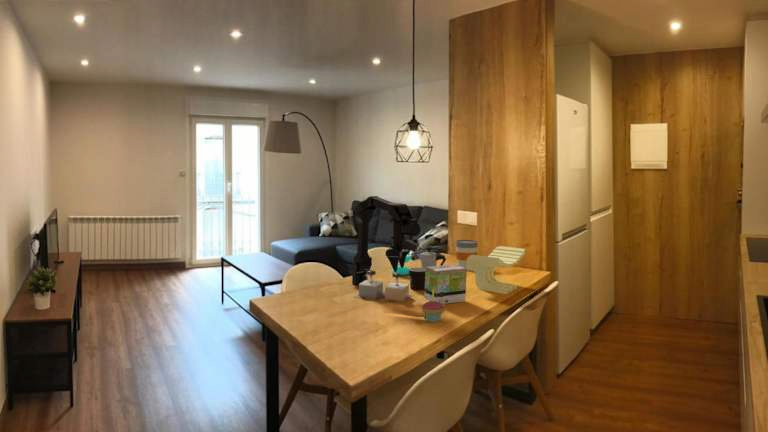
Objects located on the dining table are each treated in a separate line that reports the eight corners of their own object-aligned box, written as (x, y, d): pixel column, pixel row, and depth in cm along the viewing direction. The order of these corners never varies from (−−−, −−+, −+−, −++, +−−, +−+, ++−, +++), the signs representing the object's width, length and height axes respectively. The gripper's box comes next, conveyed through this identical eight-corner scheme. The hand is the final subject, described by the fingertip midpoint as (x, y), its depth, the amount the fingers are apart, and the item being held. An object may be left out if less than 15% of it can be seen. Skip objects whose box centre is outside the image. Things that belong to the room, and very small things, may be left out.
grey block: (359, 296, 210) (359, 283, 209) (367, 291, 219) (367, 279, 218) (376, 298, 207) (376, 285, 207) (384, 292, 216) (384, 280, 215)
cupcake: (420, 316, 186) (420, 286, 185) (442, 316, 187) (442, 285, 185) (424, 323, 177) (424, 291, 176) (446, 323, 178) (447, 291, 177)
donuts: (414, 254, 259) (404, 257, 251) (414, 273, 260) (404, 276, 252) (398, 252, 265) (388, 255, 257) (398, 270, 266) (388, 274, 258)
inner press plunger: (361, 287, 210) (361, 272, 209) (367, 283, 216) (367, 269, 215) (375, 288, 208) (375, 273, 207) (380, 285, 214) (380, 270, 213)
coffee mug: (425, 293, 219) (426, 271, 218) (406, 292, 221) (407, 271, 220) (428, 287, 230) (428, 266, 229) (410, 286, 232) (410, 265, 231)
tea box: (436, 306, 200) (437, 271, 198) (423, 300, 209) (424, 266, 207) (466, 301, 207) (467, 267, 205) (452, 295, 216) (453, 263, 214)
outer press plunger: (387, 289, 206) (387, 274, 205) (392, 286, 212) (392, 271, 211) (401, 291, 204) (401, 275, 203) (406, 287, 210) (406, 272, 209)
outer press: (384, 299, 206) (384, 286, 205) (392, 293, 215) (392, 281, 214) (402, 301, 203) (402, 288, 202) (409, 295, 212) (409, 283, 211)
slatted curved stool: (493, 279, 246) (494, 245, 244) (523, 284, 236) (525, 248, 235) (465, 292, 222) (466, 253, 221) (497, 298, 213) (499, 258, 211)
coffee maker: (413, 283, 238) (414, 247, 236) (419, 279, 246) (419, 244, 244) (442, 286, 232) (443, 249, 230) (447, 282, 240) (448, 246, 238)
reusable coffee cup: (454, 269, 271) (455, 242, 269) (454, 264, 283) (455, 239, 281) (477, 270, 268) (478, 243, 267) (476, 265, 281) (477, 240, 279)
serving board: (353, 299, 208) (353, 297, 208) (365, 292, 220) (365, 290, 220) (404, 305, 200) (404, 303, 200) (413, 297, 212) (413, 295, 212)
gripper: (411, 237, 195) (410, 275, 196) (423, 231, 212) (422, 266, 214) (385, 236, 198) (385, 273, 200) (399, 230, 216) (398, 264, 217)
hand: (398, 269), depth 208 cm, fingers open, 9 cm apart
